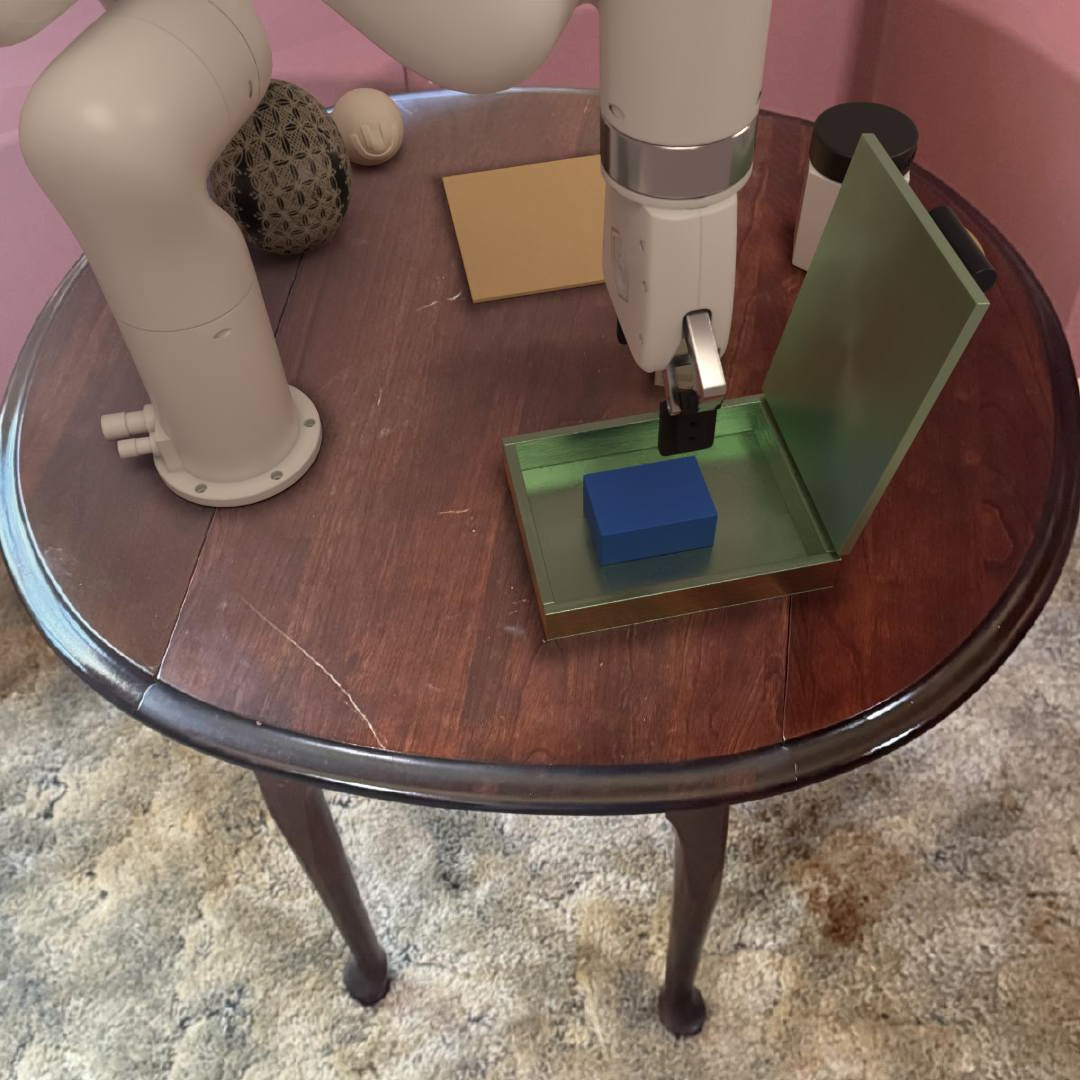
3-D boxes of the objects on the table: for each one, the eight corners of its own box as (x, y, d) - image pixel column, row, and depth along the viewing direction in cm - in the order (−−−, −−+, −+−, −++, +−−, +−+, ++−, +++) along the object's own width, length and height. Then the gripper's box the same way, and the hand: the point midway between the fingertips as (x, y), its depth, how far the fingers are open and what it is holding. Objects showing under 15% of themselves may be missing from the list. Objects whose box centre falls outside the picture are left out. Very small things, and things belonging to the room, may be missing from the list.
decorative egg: (273, 192, 105) (234, 38, 93) (385, 217, 102) (359, 61, 90) (207, 267, 98) (155, 112, 86) (324, 296, 95) (288, 139, 83)
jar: (886, 291, 93) (921, 166, 84) (788, 282, 94) (811, 157, 85) (886, 226, 99) (919, 101, 89) (793, 218, 100) (815, 94, 90)
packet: (600, 566, 76) (601, 535, 73) (582, 505, 79) (582, 474, 76) (713, 545, 77) (718, 514, 74) (691, 486, 80) (695, 454, 77)
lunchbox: (547, 647, 73) (545, 615, 70) (504, 472, 82) (501, 437, 79) (831, 593, 75) (842, 559, 72) (758, 428, 84) (765, 392, 81)
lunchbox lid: (977, 303, 56) (1059, 302, 57) (861, 132, 65) (934, 133, 66) (838, 556, 71) (904, 550, 72) (760, 388, 81) (821, 385, 82)
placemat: (473, 303, 94) (472, 300, 94) (442, 180, 105) (442, 177, 104) (723, 264, 96) (724, 260, 96) (668, 147, 107) (668, 144, 107)
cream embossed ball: (351, 189, 104) (338, 125, 99) (329, 148, 109) (316, 85, 103) (418, 171, 106) (410, 106, 101) (394, 131, 110) (385, 68, 105)
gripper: (563, 59, 59) (571, 310, 72) (648, 260, 48) (638, 509, 62) (700, 38, 59) (682, 291, 73) (813, 232, 49) (768, 485, 62)
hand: (662, 391), depth 67 cm, fingers open, 9 cm apart
